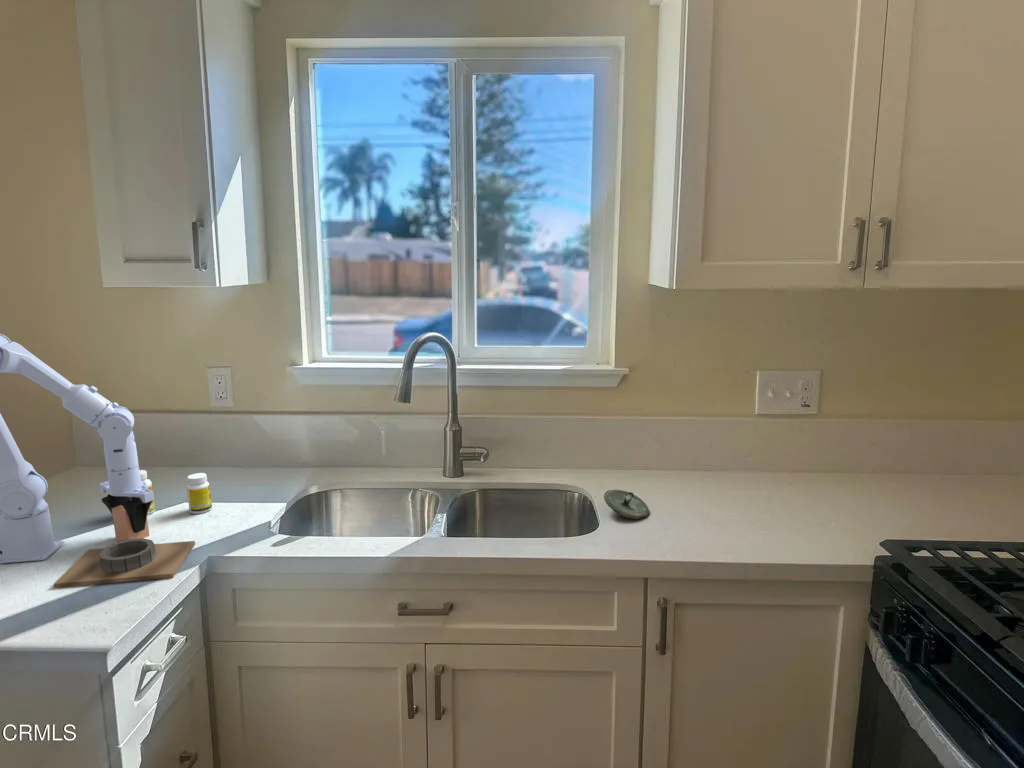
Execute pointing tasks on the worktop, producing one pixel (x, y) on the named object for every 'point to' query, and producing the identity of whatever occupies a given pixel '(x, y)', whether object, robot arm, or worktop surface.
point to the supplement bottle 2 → (198, 493)
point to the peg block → (126, 525)
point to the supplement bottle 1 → (148, 485)
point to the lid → (626, 504)
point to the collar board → (146, 572)
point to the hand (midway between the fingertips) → (131, 528)
